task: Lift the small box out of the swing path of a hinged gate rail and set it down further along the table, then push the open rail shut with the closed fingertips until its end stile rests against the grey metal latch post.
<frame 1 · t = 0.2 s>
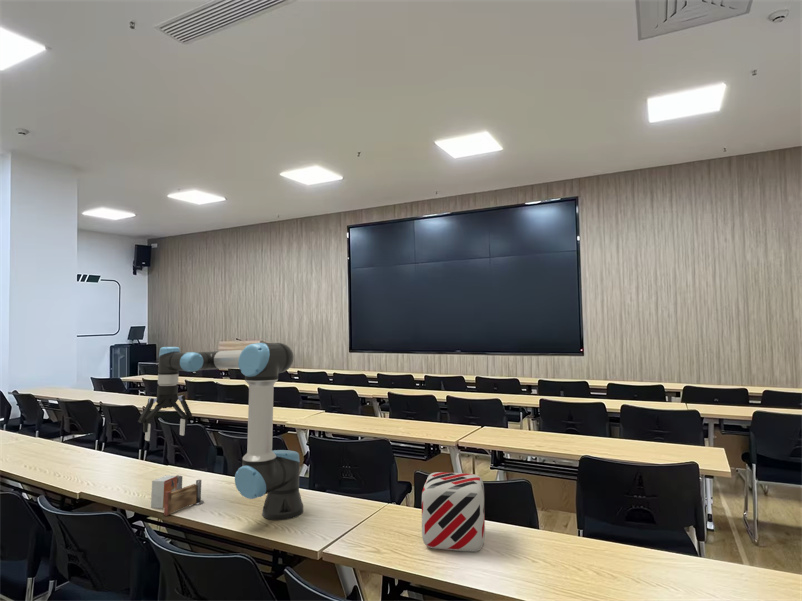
hand: (165, 437, 186), 26 cm above the table, fingers open, 13 cm apart
decorative cube: (454, 541, 151), on the table
gate: (181, 498, 178), point 4 cm above the table, hinge at 90.0°
pivot post: (197, 503, 185), on the table
latch post: (177, 496, 193), on the table
small box: (163, 505, 184), on the table
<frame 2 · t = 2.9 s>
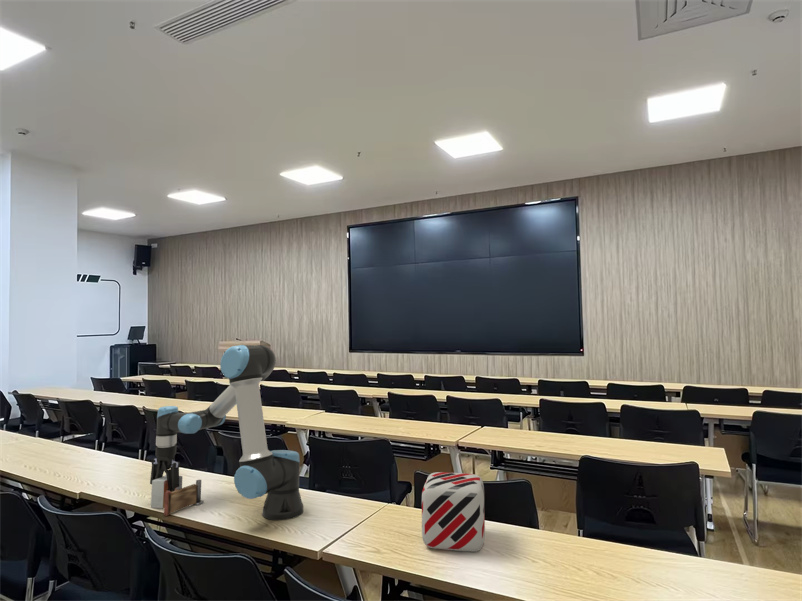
hand: (163, 504, 184), 0 cm above the table, fingers closed on small box, 6 cm apart
small box: (163, 505, 184), on the table, touching gripper
everything else where it was.
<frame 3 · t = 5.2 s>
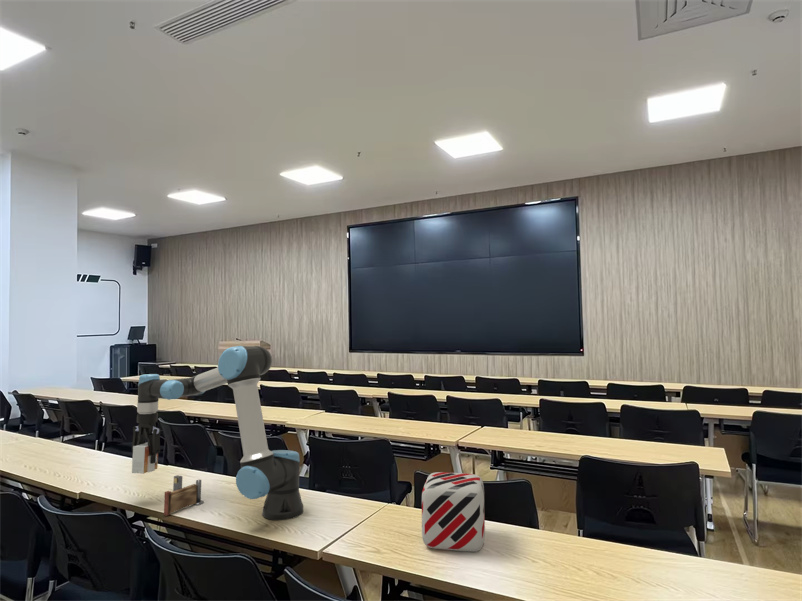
hand: (144, 470, 185), 13 cm above the table, fingers closed on small box, 6 cm apart
small box: (144, 471, 185), point 13 cm above the table, touching gripper
everything else where it was.
when the fingers open (1 cm above the table, at t = 7.5 s): small box drops 1 cm, on the table.
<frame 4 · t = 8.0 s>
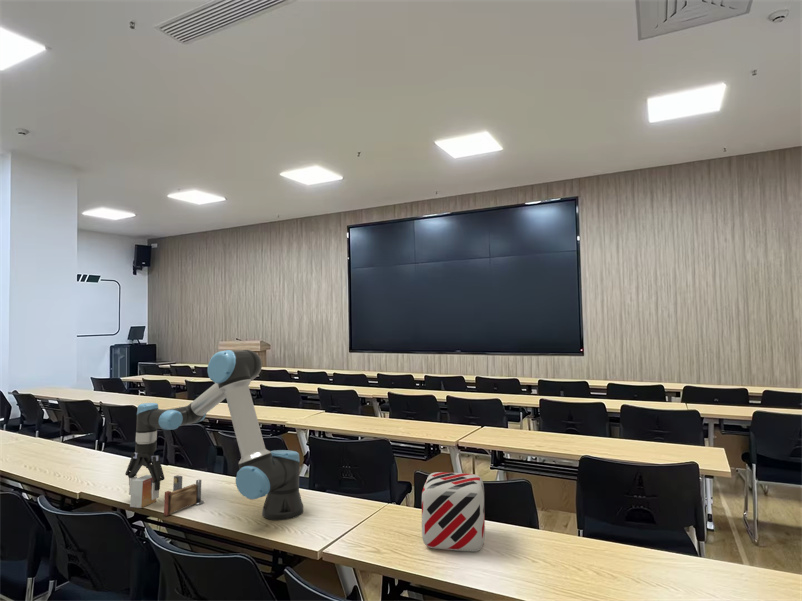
hand: (143, 496, 184), 3 cm above the table, fingers open, 13 cm apart
small box: (143, 504, 184), on the table
everything else where it was.
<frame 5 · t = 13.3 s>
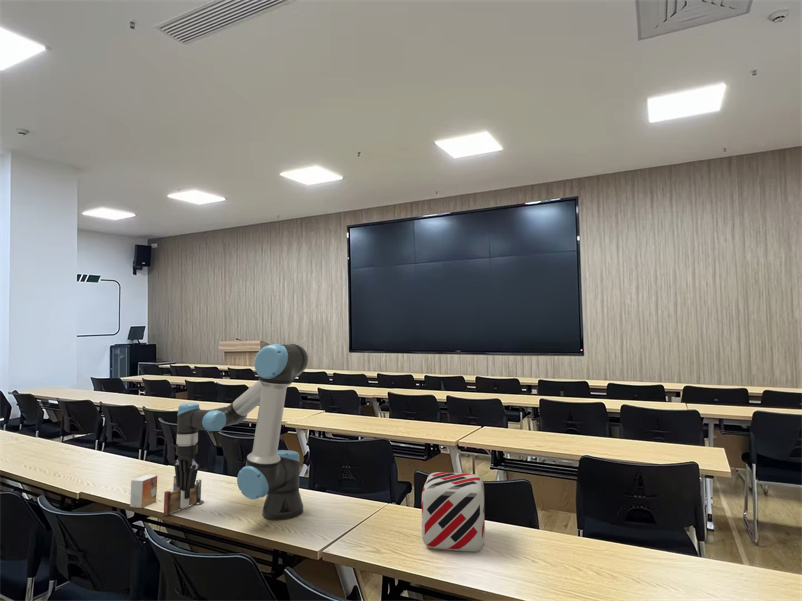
hand: (184, 506, 176), 2 cm above the table, fingers closed
gate: (181, 498, 178), point 4 cm above the table, hinge at 89.3°, touching gripper
everything else where it was.
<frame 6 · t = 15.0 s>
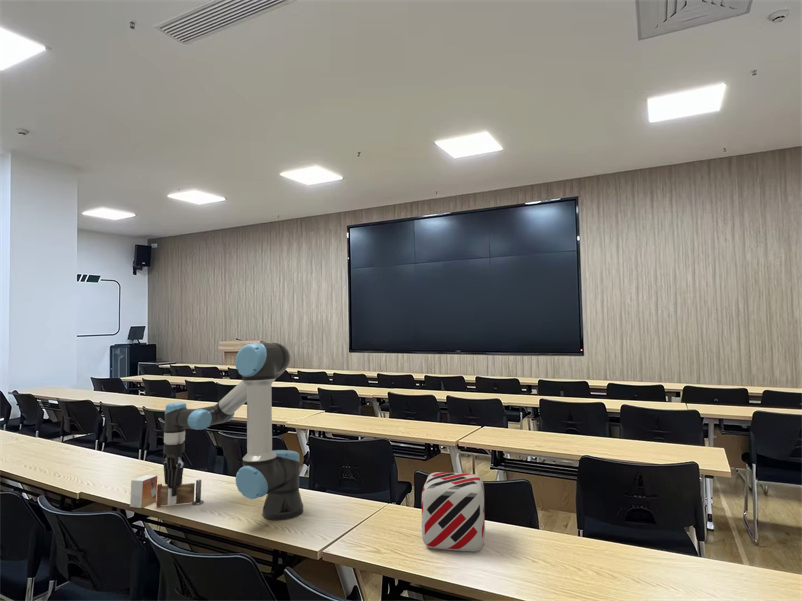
hand: (171, 504, 179), 2 cm above the table, fingers closed
gate: (175, 494, 183), point 4 cm above the table, hinge at 42.3°, touching gripper
everything else where it was.
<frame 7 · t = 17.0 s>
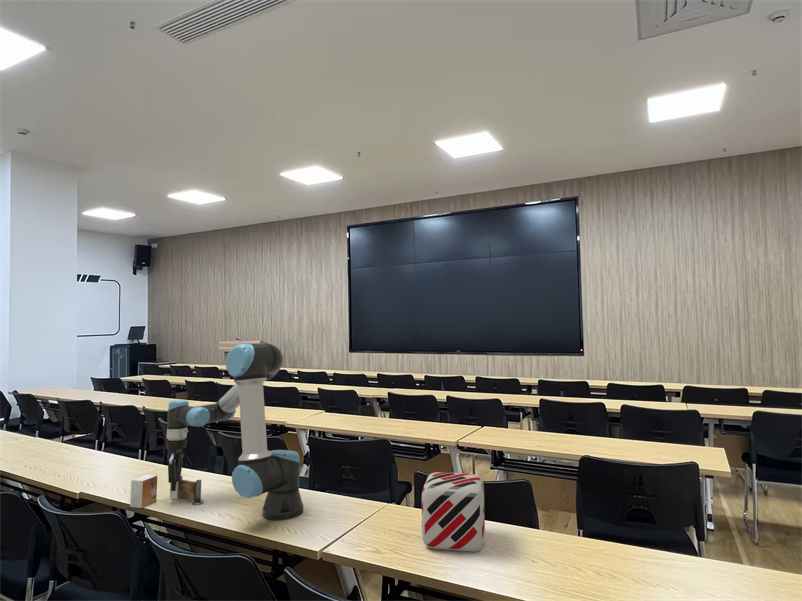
hand: (173, 498, 186), 2 cm above the table, fingers closed
gate: (183, 489, 189), point 4 cm above the table, hinge at 1.1°, touching gripper, latch post
everything else where it was.
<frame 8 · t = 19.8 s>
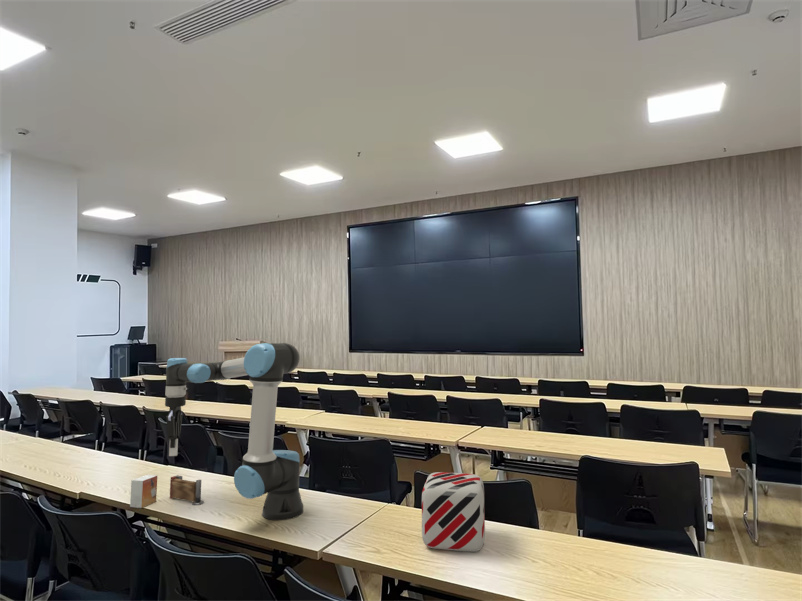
hand: (173, 455, 185), 19 cm above the table, fingers closed
gate: (183, 489, 189), point 5 cm above the table, hinge at 1.1°, touching latch post
everything else where it was.
at the end: gate at +1° (first picture: +90°); small box inside the target area (0.0 cm from its centre), on the table; small box tilted 0° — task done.
